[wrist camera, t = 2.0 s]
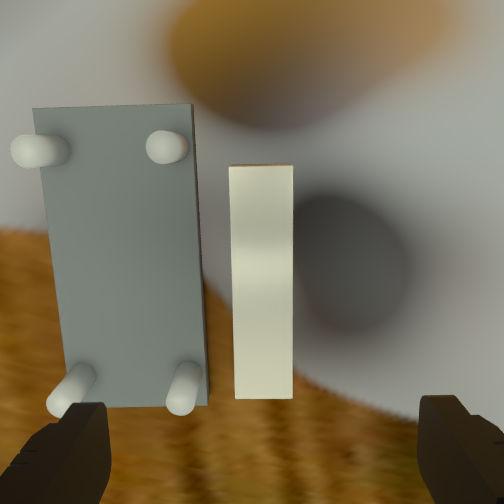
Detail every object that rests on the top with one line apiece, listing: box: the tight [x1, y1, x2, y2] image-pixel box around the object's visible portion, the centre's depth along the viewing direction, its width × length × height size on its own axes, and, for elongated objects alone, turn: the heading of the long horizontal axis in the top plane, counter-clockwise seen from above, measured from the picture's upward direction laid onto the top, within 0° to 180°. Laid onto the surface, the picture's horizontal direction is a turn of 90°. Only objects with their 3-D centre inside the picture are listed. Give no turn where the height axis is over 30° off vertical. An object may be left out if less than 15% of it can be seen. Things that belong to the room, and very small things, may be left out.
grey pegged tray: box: [10, 103, 209, 418], centre depth 23 cm, size 16×8×4 cm, turn 2°
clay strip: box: [229, 164, 293, 399], centre depth 24 cm, size 12×3×2 cm, turn 1°
